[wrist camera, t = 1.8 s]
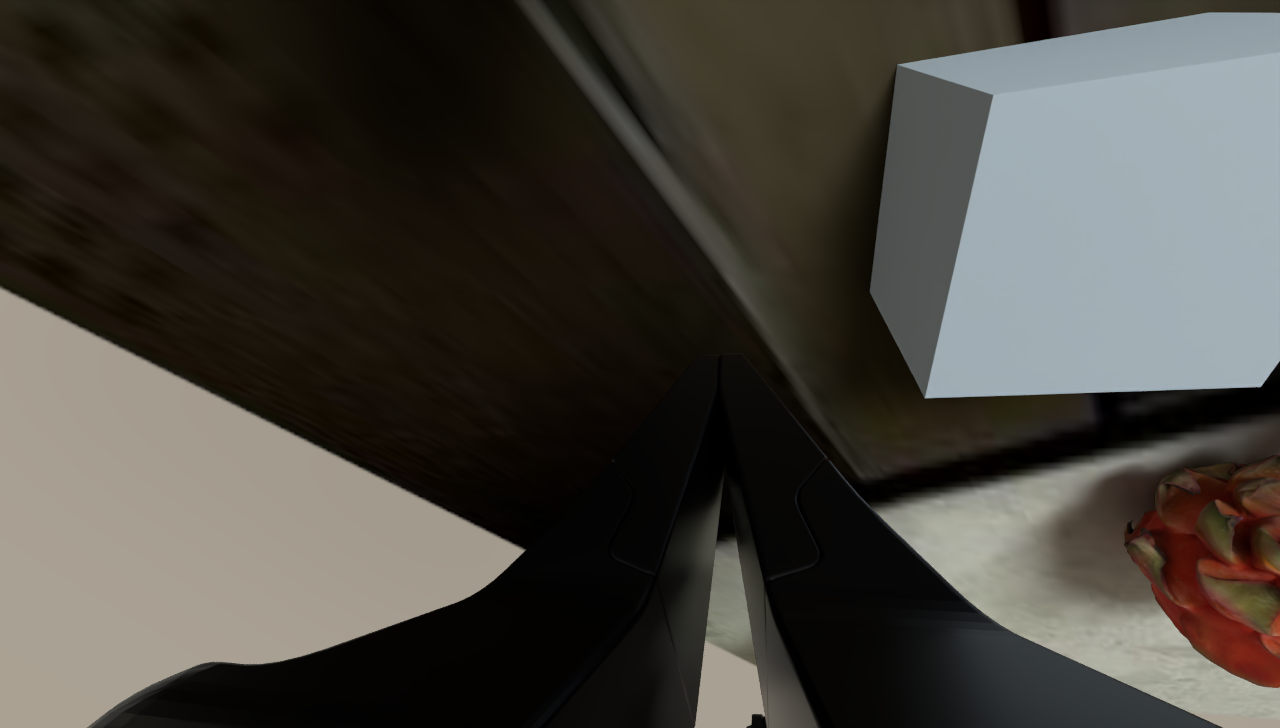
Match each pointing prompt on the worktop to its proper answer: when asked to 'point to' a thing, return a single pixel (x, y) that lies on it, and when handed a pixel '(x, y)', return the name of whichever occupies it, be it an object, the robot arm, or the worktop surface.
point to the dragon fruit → (1218, 562)
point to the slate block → (1087, 212)
